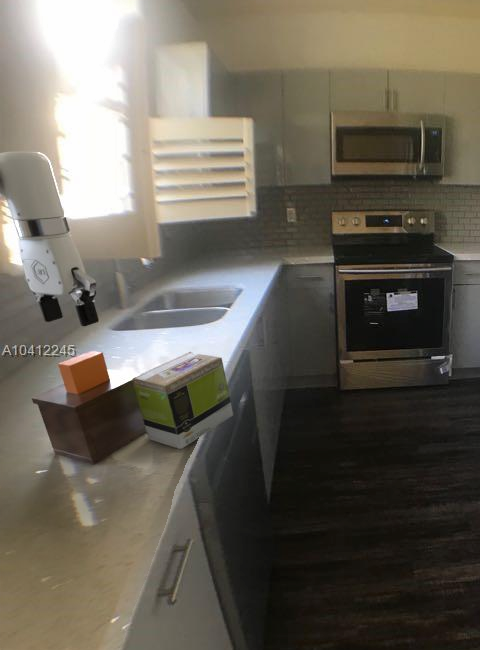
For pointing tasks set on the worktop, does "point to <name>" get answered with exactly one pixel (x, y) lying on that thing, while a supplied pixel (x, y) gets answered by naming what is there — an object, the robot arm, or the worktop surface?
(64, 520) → the worktop surface
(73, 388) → the block
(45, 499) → the worktop surface
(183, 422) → the tea box
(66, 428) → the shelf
